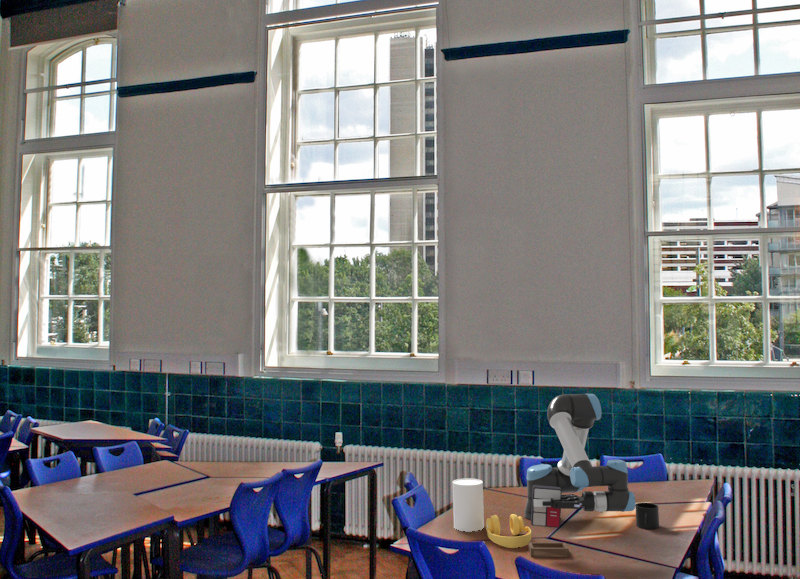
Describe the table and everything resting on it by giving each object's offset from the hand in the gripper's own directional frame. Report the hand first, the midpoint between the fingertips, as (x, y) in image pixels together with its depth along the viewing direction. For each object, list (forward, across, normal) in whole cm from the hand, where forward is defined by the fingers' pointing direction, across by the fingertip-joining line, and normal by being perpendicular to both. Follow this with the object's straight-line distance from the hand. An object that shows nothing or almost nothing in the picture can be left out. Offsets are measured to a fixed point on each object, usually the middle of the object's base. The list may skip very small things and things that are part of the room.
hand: (533, 501), depth 255 cm
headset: (+9, +17, -20) cm, 28 cm away
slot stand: (-5, 0, -20) cm, 21 cm away
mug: (-53, +34, -20) cm, 66 cm away
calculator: (-4, 0, -10) cm, 11 cm away
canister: (+25, +34, -20) cm, 47 cm away
